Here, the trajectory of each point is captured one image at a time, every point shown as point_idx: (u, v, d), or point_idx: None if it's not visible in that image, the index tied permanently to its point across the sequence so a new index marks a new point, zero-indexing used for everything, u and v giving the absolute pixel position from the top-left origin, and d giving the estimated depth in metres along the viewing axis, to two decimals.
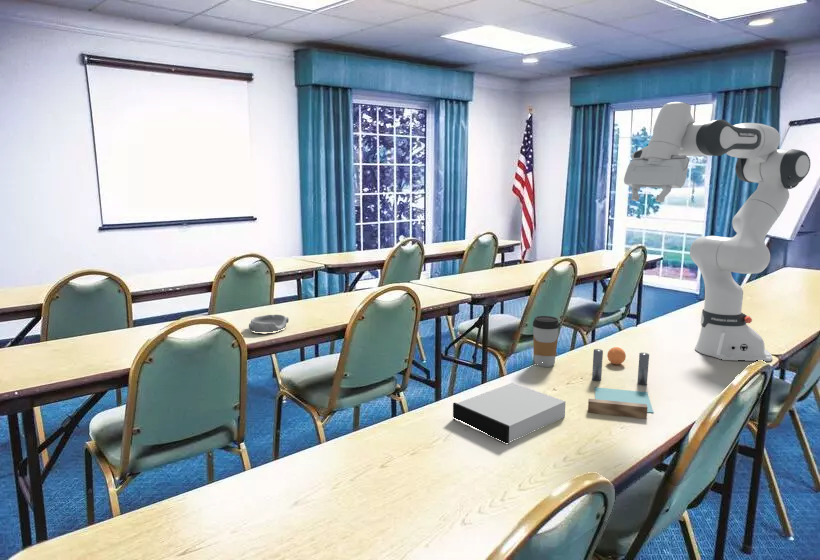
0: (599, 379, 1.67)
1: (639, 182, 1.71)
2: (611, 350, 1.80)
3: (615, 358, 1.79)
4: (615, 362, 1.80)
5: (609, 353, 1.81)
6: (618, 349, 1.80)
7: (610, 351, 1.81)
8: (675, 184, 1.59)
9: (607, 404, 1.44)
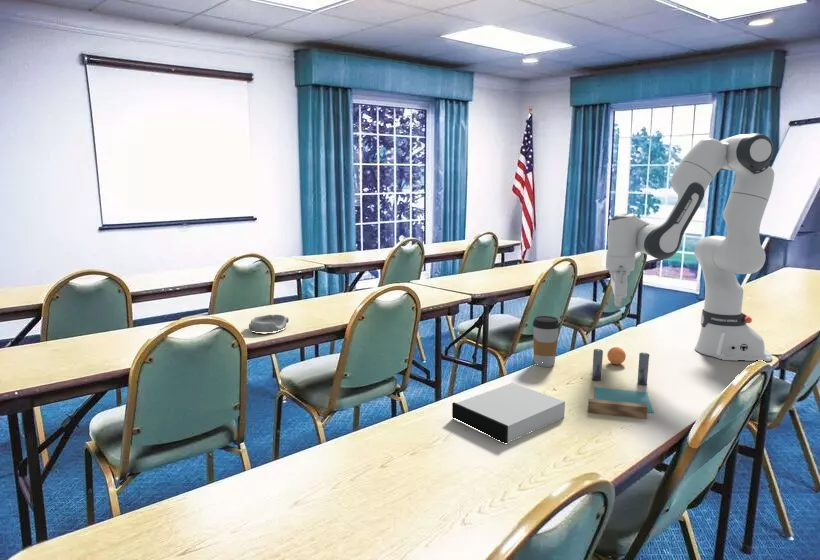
0: (599, 379, 1.67)
1: (612, 288, 1.90)
2: (611, 350, 1.80)
3: (615, 358, 1.79)
4: (615, 362, 1.80)
5: (609, 353, 1.81)
6: (618, 349, 1.80)
7: (610, 351, 1.81)
8: (616, 296, 1.78)
9: (607, 404, 1.44)
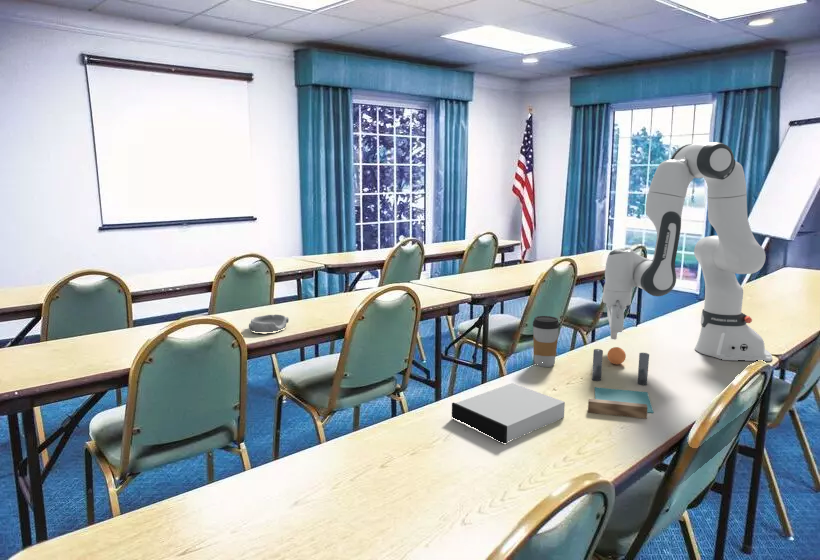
0: (599, 379, 1.67)
1: None
2: (611, 350, 1.80)
3: (615, 358, 1.79)
4: (615, 362, 1.80)
5: (609, 353, 1.81)
6: (618, 349, 1.80)
7: (610, 351, 1.81)
8: (612, 331, 1.80)
9: (607, 404, 1.44)
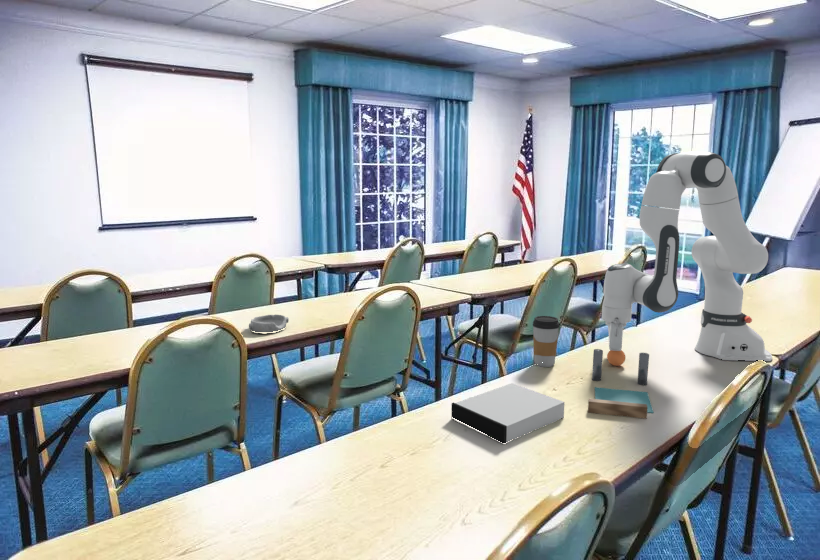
0: (599, 379, 1.67)
1: None
2: (611, 352, 1.79)
3: (615, 360, 1.78)
4: (615, 364, 1.79)
5: (609, 355, 1.79)
6: (618, 351, 1.78)
7: (610, 353, 1.79)
8: (611, 349, 1.75)
9: (607, 404, 1.44)
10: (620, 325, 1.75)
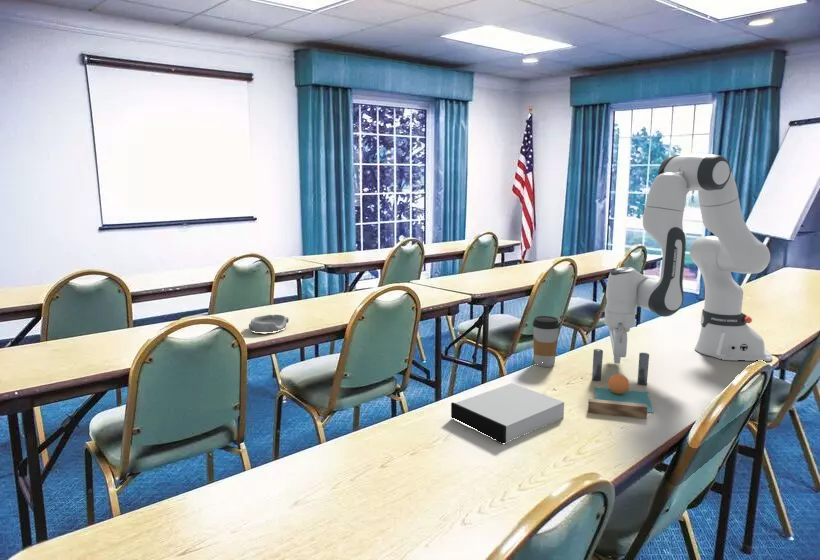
0: (599, 379, 1.67)
1: None
2: (612, 391, 1.58)
3: None
4: None
5: None
6: None
7: (611, 390, 1.58)
8: (615, 356, 1.69)
9: (607, 404, 1.44)
10: (624, 331, 1.70)
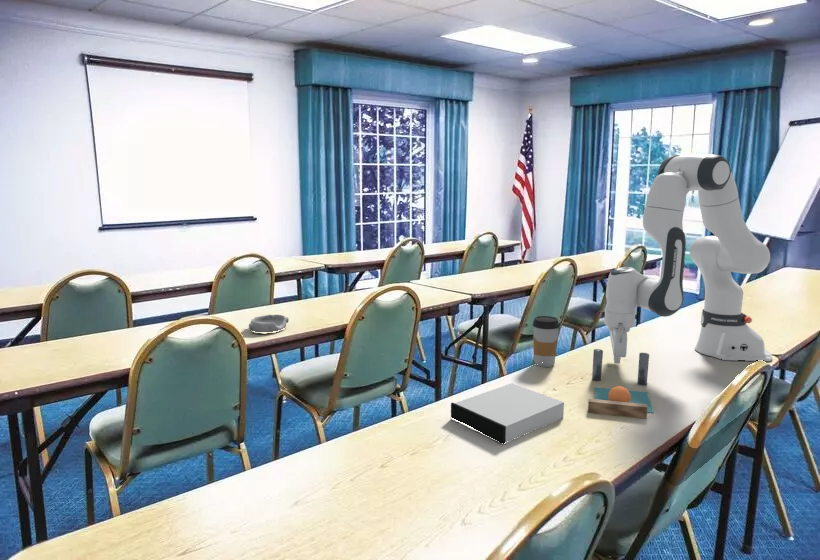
0: (599, 379, 1.67)
1: None
2: (613, 388, 1.49)
3: (619, 396, 1.46)
4: None
5: (611, 392, 1.48)
6: (621, 387, 1.48)
7: (612, 389, 1.49)
8: (615, 356, 1.69)
9: (607, 404, 1.44)
10: (624, 331, 1.70)
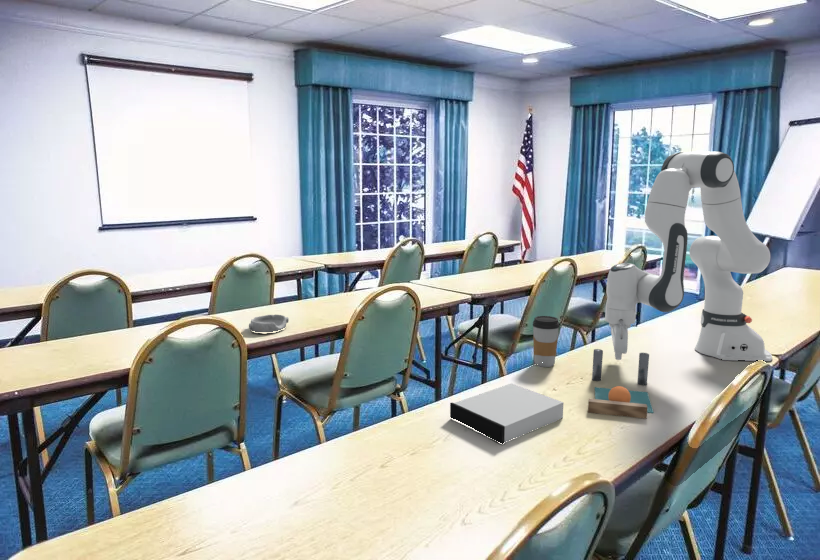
0: (599, 379, 1.67)
1: (612, 339, 1.81)
2: (613, 388, 1.49)
3: (619, 396, 1.46)
4: None
5: (611, 392, 1.48)
6: (621, 387, 1.48)
7: (612, 389, 1.49)
8: (616, 352, 1.69)
9: (607, 404, 1.44)
10: (625, 327, 1.70)
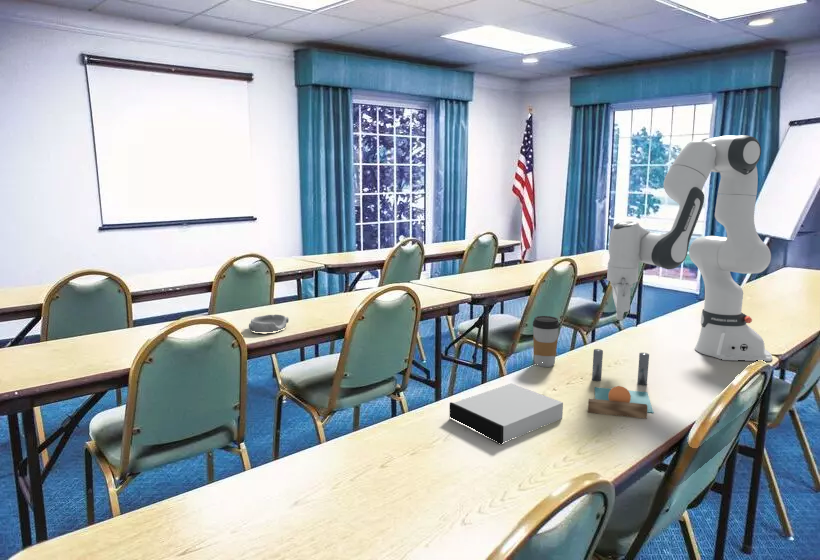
0: (599, 379, 1.67)
1: None
2: (613, 388, 1.49)
3: (619, 396, 1.46)
4: None
5: (611, 392, 1.48)
6: (621, 387, 1.48)
7: (612, 389, 1.49)
8: (618, 310, 1.67)
9: (607, 404, 1.44)
10: (627, 285, 1.67)
